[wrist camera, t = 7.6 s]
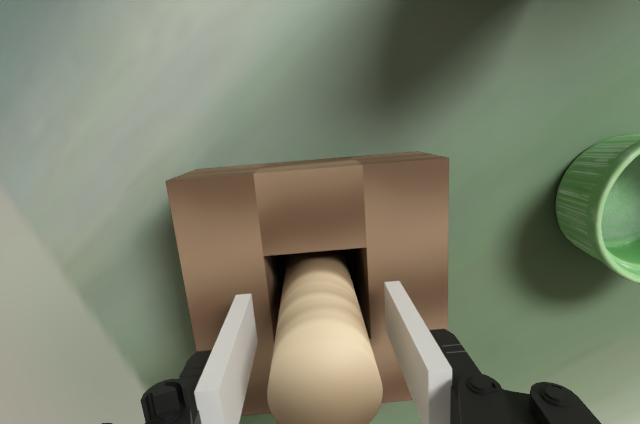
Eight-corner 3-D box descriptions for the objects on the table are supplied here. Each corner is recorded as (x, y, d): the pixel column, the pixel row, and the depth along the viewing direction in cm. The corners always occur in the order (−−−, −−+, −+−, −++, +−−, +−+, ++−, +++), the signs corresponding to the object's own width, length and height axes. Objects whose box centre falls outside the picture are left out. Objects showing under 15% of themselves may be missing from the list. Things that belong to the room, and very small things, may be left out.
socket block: (196, 169, 22) (165, 180, 17) (418, 151, 22) (449, 157, 17) (227, 362, 25) (208, 418, 20) (420, 345, 26) (446, 396, 21)
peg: (283, 238, 23) (260, 348, 12) (343, 233, 23) (380, 338, 12) (289, 293, 24) (273, 447, 13) (347, 288, 24) (384, 436, 13)
